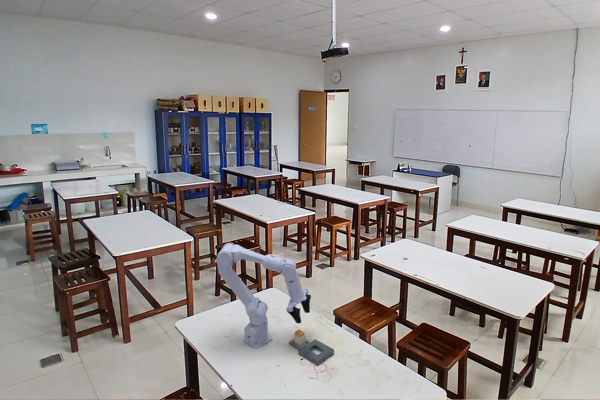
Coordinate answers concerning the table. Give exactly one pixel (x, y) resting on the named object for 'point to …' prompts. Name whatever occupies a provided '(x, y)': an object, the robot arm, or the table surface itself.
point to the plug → (299, 338)
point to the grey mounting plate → (296, 344)
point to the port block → (313, 357)
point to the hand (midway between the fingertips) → (303, 317)
